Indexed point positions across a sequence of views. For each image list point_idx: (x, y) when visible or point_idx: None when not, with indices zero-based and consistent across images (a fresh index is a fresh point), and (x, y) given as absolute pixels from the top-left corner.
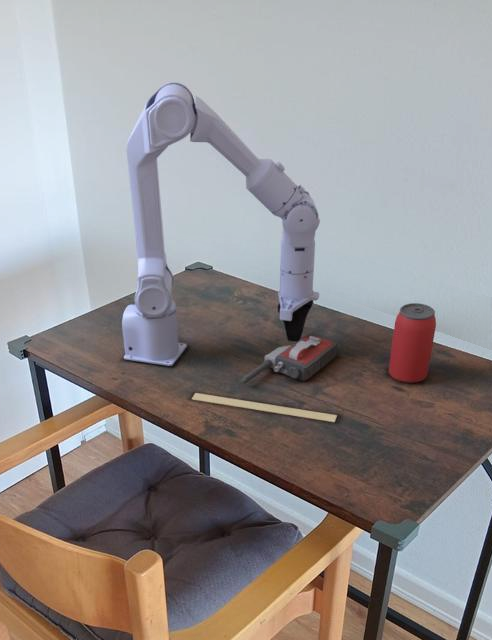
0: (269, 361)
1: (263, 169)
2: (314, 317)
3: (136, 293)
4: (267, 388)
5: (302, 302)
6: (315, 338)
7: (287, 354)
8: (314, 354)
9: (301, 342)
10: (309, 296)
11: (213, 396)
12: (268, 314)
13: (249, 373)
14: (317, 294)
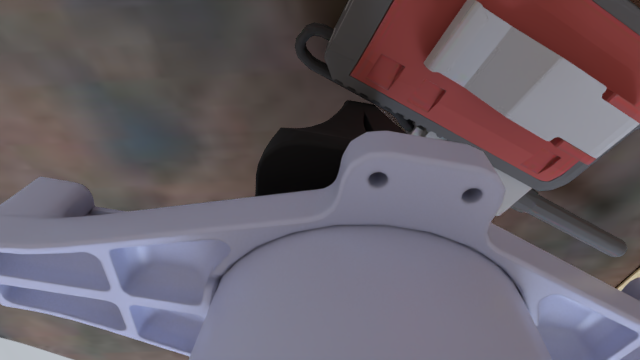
0: (525, 197)
1: None
2: (53, 38)
3: None
4: (631, 172)
5: (600, 298)
6: (469, 35)
7: (544, 153)
8: (591, 25)
9: (530, 115)
10: (476, 253)
11: (623, 286)
12: (121, 195)
13: (592, 243)
14: (420, 175)
